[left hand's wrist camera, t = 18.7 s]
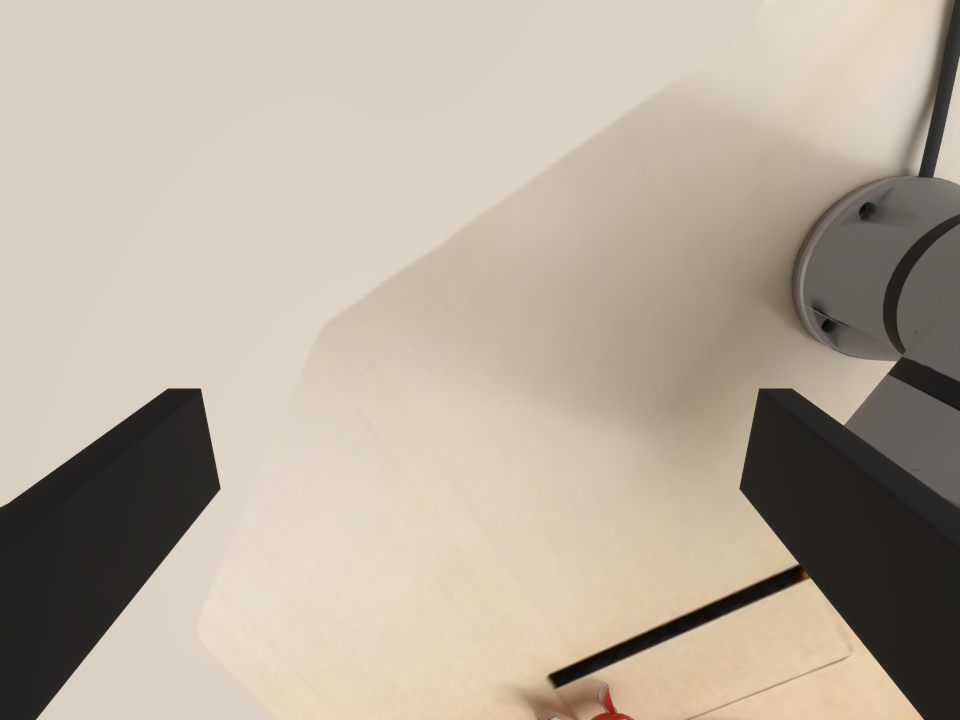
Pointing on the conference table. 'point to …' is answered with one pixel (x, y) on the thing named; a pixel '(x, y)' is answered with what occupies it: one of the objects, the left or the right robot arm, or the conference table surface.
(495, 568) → the conference table surface
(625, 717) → the fish
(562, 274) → the conference table surface
